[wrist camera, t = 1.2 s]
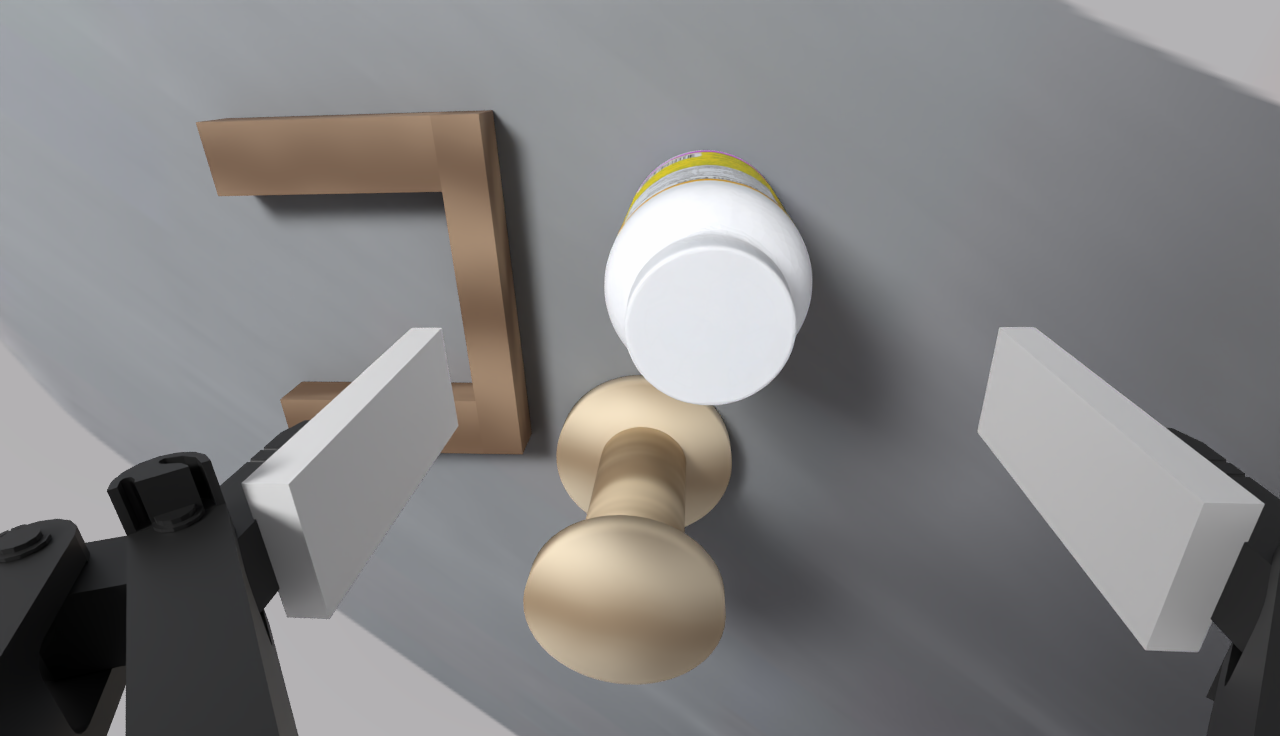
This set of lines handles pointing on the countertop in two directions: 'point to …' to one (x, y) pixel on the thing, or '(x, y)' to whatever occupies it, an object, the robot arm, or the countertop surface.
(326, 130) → the notch board
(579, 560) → the bobbin
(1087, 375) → the robot arm
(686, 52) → the countertop surface
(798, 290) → the supplement bottle
